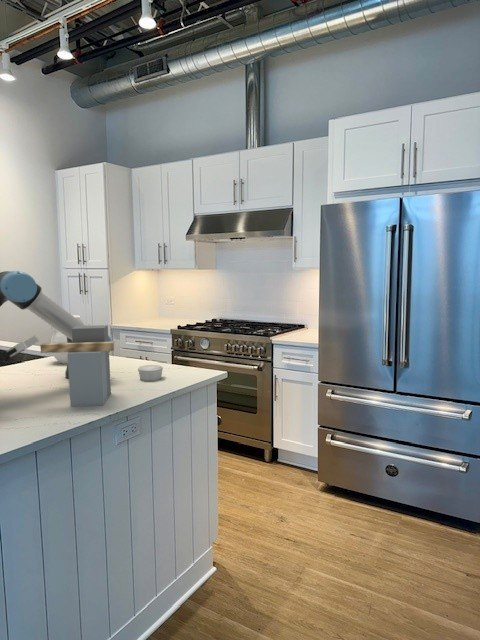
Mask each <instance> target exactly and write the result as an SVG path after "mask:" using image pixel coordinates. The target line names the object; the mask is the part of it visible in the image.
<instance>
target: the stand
mask: <svg viewBox="0 0 480 640" xmlns="http://www.w3.org/2000/svg"><path fill="white" fill-rule="evenodd" d="M108 336H109V325H108V324H106V325H105V324H103V325H102V324H101V325H98V324H97V325H96V324H95V325H91V326H76V327H74V328H72V342H73V343H82V342H109V340H108ZM67 356H68V373H69V379H68V386H69V387H68V388H69V404H70V407H82V406H83V407H86V406H87V407H90V406H91V407H92V406H104V405H105V404H106V402H107V401H108V399H109V397H110V395H111V394H112V389H111V386H112V385H111V369H110V368H111V367H110V352H109V351H91V352H69V353H67Z"/></svg>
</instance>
